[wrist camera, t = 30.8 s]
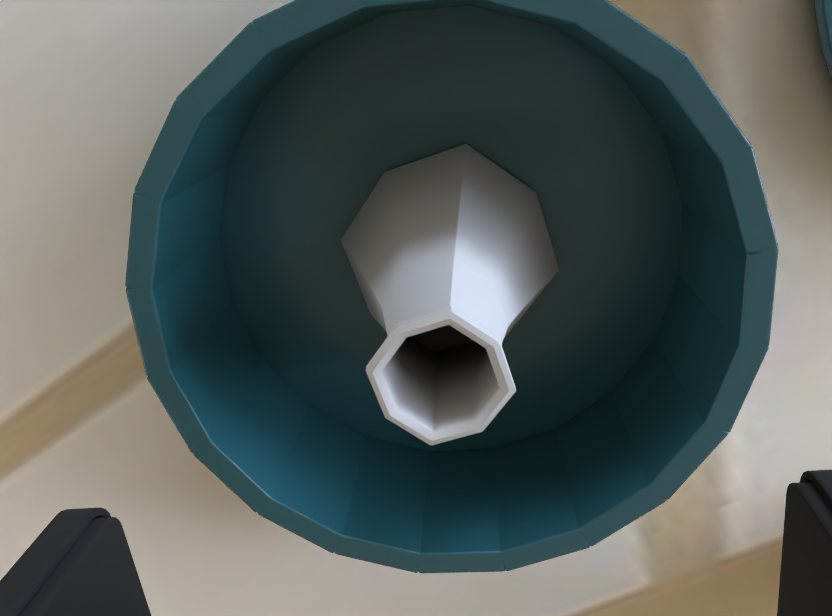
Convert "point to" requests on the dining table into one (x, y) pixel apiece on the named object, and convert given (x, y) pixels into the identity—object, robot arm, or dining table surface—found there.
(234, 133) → the pot
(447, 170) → the flask
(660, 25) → the dining table surface
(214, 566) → the dining table surface
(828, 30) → the lid
